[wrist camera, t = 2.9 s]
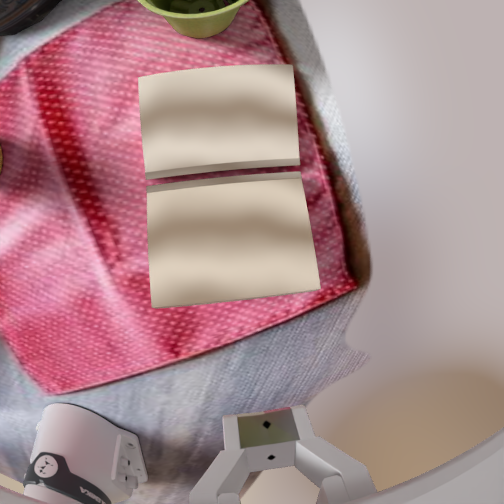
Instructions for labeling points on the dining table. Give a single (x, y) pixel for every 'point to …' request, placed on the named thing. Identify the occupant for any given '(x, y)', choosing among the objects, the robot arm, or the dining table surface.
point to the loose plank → (229, 240)
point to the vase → (1, 159)
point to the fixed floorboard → (218, 119)
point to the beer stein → (23, 14)
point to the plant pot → (196, 15)
